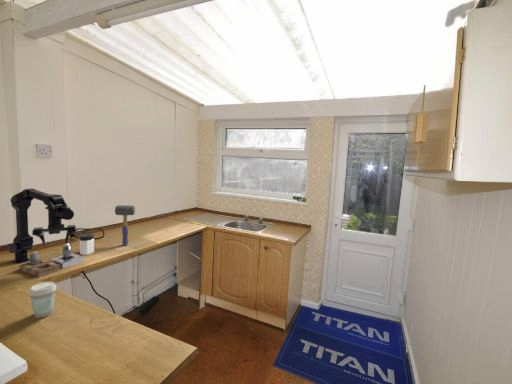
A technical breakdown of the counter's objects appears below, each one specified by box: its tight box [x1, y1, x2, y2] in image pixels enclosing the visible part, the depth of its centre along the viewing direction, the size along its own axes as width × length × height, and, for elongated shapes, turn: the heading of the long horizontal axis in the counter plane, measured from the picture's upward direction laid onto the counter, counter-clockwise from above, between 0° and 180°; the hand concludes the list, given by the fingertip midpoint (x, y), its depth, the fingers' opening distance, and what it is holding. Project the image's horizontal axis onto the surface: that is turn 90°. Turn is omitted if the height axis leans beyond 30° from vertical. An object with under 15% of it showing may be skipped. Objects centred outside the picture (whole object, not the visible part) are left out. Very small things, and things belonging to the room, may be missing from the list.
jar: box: [78, 233, 95, 256], centre depth 167 cm, size 9×8×12 cm
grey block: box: [62, 243, 72, 260], centre depth 150 cm, size 4×4×12 cm
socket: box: [49, 252, 85, 269], centre depth 151 cm, size 12×12×3 cm
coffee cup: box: [28, 281, 57, 319], centre depth 102 cm, size 8×8×12 cm
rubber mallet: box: [114, 204, 136, 246], centre depth 185 cm, size 12×8×30 cm, turn 106°
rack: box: [18, 251, 61, 278], centre depth 139 cm, size 18×10×9 cm, turn 68°
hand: (55, 244), depth 141 cm, fingers open, 9 cm apart
